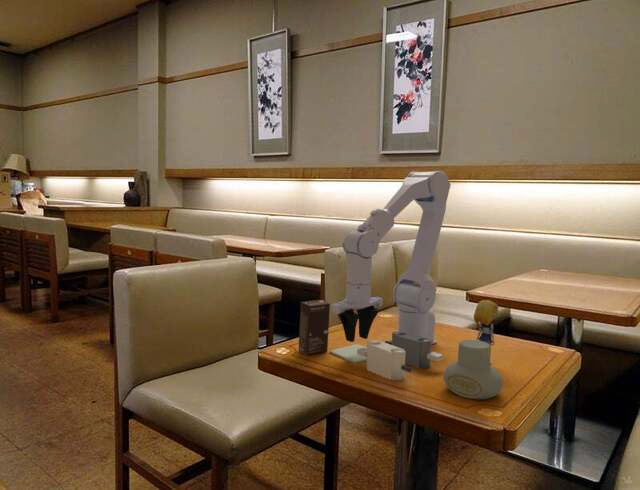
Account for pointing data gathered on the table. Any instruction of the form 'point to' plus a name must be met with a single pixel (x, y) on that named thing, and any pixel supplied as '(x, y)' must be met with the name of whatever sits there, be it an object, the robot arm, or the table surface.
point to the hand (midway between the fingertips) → (356, 339)
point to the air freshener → (473, 372)
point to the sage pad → (350, 353)
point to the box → (314, 326)
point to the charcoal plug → (415, 349)
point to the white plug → (385, 359)
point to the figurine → (485, 320)
